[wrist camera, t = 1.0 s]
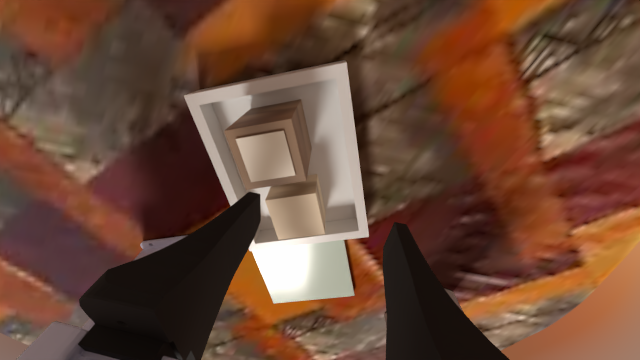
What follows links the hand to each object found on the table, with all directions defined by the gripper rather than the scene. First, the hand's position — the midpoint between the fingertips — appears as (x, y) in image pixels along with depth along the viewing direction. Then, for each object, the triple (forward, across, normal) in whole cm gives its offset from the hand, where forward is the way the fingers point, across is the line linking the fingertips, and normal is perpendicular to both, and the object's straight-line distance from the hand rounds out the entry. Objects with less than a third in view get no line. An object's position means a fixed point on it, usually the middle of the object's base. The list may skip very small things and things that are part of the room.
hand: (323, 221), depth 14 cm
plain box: (+12, +3, +9) cm, 16 cm away
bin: (+13, +5, +6) cm, 15 cm away
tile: (+11, +2, +21) cm, 24 cm away
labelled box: (+13, +6, +2) cm, 14 cm away
